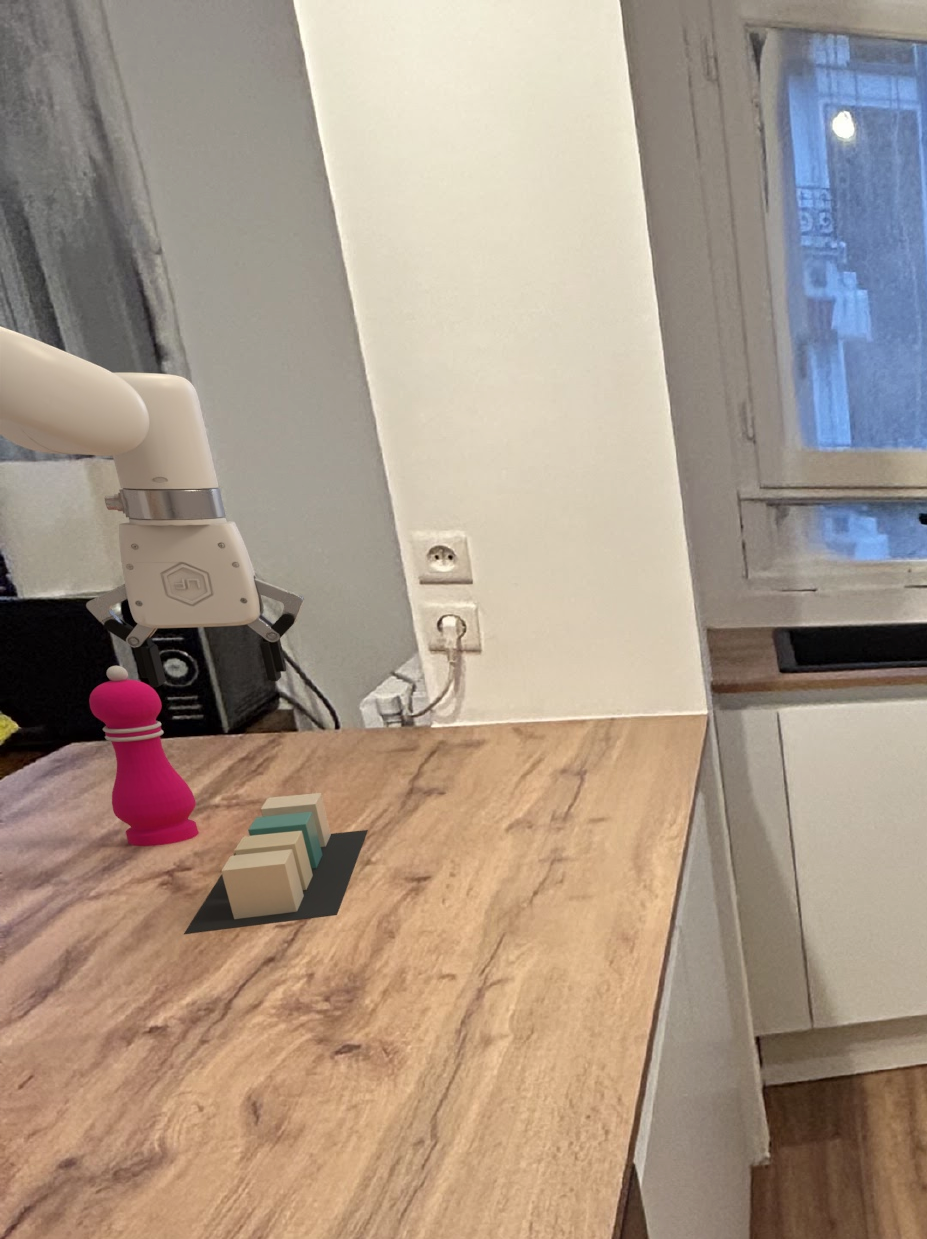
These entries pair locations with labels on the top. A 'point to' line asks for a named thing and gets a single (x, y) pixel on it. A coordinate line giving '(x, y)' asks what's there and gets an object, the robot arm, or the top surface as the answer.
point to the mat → (317, 898)
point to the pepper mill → (142, 763)
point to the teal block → (290, 824)
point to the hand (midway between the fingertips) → (217, 682)
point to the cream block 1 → (301, 811)
